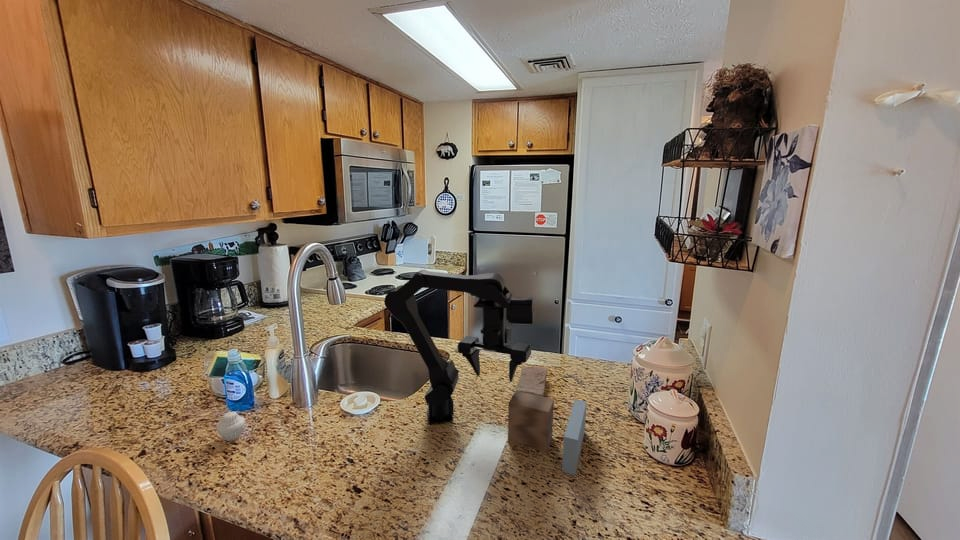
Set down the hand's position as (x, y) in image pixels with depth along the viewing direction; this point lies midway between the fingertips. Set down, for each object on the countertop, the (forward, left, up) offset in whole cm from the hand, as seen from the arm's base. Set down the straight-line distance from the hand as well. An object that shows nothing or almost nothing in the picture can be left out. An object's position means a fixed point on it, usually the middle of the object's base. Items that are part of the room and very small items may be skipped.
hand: (494, 378), depth 100 cm
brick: (+16, +13, -14) cm, 24 cm away
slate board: (+16, -15, -13) cm, 26 cm away
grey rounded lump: (-67, +9, -13) cm, 69 cm away
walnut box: (+7, -9, -13) cm, 17 cm away
